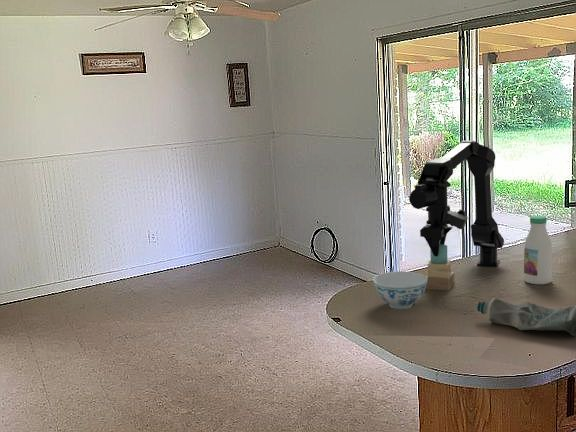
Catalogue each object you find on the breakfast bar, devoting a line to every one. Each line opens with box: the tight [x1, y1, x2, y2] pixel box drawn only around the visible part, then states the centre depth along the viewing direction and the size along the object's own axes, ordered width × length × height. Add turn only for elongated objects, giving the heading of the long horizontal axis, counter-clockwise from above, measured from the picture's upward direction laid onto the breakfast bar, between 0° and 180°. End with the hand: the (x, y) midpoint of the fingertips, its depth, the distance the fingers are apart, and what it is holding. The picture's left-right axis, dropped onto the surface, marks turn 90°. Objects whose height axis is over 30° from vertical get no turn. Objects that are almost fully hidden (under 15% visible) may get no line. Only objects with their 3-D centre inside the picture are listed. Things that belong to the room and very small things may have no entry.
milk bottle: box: [523, 215, 553, 285], centre depth 183 cm, size 8×8×20 cm
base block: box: [424, 271, 455, 292], centre depth 186 cm, size 8×8×4 cm
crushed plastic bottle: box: [476, 297, 576, 337], centre depth 150 cm, size 13×7×25 cm
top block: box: [427, 258, 452, 278], centre depth 186 cm, size 6×6×4 cm
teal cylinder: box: [429, 244, 448, 264], centre depth 185 cm, size 5×5×5 cm
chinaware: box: [372, 270, 428, 310], centre depth 171 cm, size 15×15×8 cm
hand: (438, 253), depth 185 cm, fingers open, 6 cm apart
